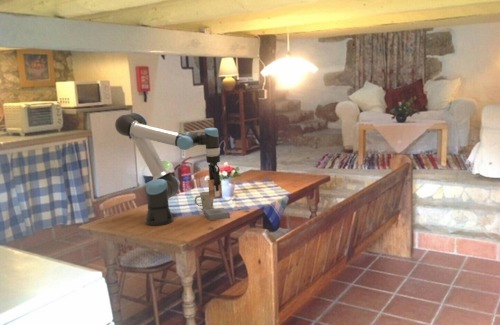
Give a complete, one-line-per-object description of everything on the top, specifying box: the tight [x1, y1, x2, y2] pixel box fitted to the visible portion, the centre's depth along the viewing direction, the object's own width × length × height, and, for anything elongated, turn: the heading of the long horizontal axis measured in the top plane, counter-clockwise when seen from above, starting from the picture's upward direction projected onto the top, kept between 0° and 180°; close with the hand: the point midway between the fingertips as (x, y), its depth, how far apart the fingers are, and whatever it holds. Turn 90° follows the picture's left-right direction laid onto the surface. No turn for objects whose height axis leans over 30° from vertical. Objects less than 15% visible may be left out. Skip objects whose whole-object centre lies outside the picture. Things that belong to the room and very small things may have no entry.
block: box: [207, 179, 223, 200], centre depth 272 cm, size 6×6×10 cm
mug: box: [194, 191, 214, 211], centre depth 291 cm, size 8×13×10 cm, turn 78°
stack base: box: [203, 207, 231, 221], centre depth 274 cm, size 12×12×3 cm
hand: (215, 195), depth 272 cm, fingers closed on block, 6 cm apart
